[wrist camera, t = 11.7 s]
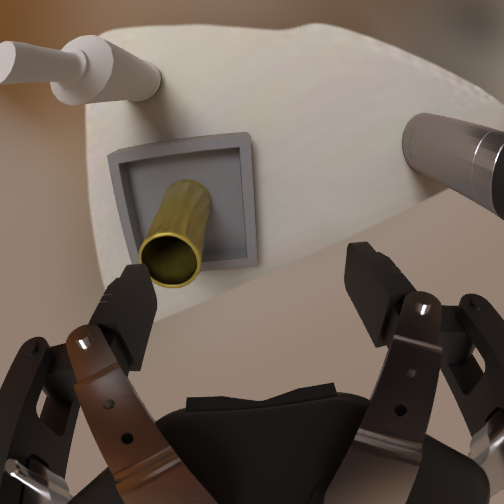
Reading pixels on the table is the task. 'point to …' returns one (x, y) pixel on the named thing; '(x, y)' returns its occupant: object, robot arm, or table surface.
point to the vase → (177, 235)
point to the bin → (198, 169)
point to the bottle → (81, 70)
